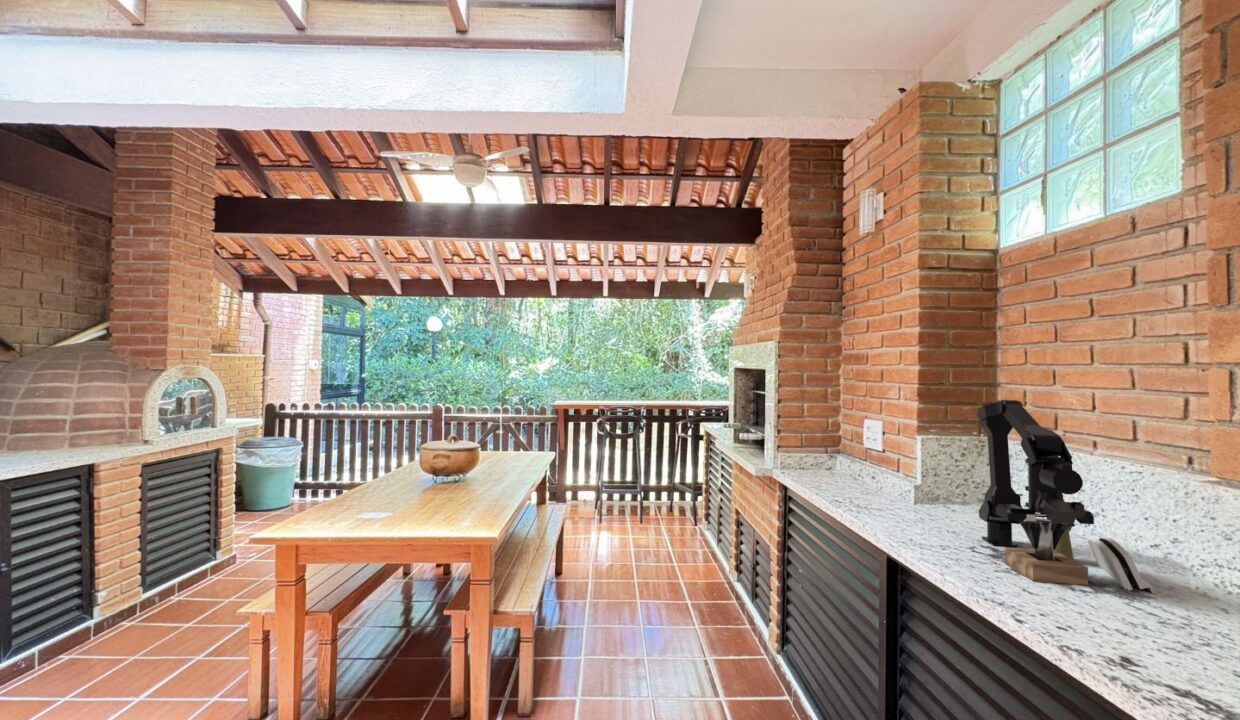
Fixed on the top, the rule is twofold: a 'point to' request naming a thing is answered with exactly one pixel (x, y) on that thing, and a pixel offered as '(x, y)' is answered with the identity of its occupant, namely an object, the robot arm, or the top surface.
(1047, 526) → the grey metal peg
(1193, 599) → the top surface
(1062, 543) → the cork
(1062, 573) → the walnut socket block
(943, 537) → the top surface
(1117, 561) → the grey black curved wedge
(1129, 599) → the top surface
